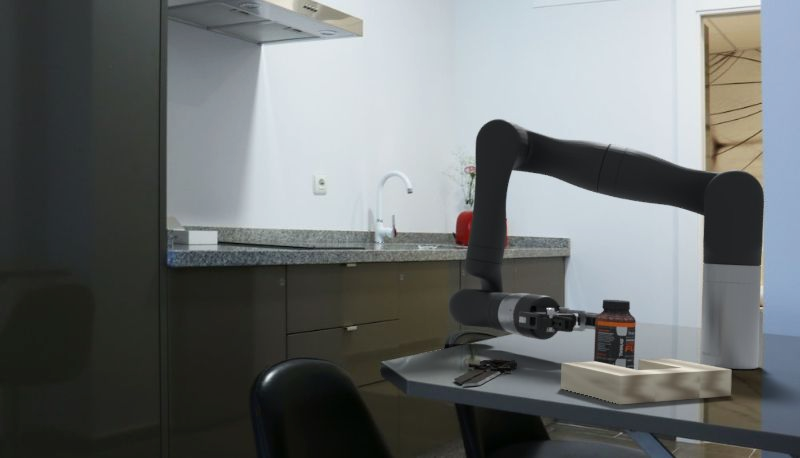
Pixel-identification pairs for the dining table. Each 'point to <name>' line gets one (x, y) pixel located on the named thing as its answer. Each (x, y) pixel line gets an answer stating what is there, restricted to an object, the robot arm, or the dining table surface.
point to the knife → (485, 371)
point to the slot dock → (646, 381)
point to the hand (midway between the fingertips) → (592, 324)
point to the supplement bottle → (615, 334)
